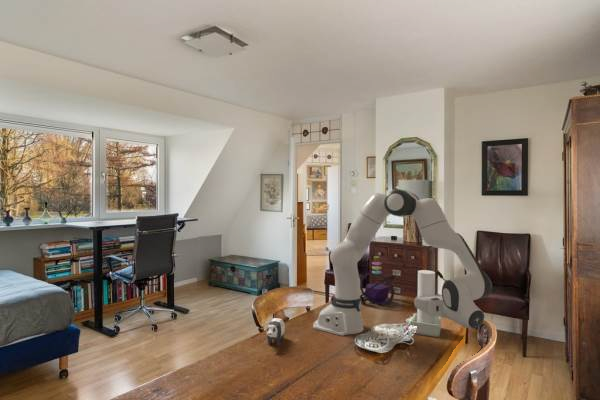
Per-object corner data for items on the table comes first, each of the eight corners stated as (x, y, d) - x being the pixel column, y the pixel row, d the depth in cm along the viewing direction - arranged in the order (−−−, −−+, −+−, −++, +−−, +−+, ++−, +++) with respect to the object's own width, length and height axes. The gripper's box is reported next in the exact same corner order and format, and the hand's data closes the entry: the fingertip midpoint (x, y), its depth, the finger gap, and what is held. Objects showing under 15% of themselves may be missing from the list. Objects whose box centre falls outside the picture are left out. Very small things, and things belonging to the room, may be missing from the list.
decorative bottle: (369, 294, 218) (369, 252, 218) (403, 300, 205) (403, 256, 204) (349, 302, 201) (349, 257, 200) (384, 311, 188) (385, 262, 187)
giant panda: (272, 335, 156) (272, 313, 156) (285, 336, 155) (285, 314, 155) (262, 350, 142) (262, 325, 141) (276, 351, 140) (276, 326, 140)
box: (410, 332, 159) (410, 321, 159) (414, 324, 169) (414, 313, 169) (438, 337, 154) (439, 325, 154) (440, 327, 164) (441, 316, 164)
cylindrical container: (414, 328, 162) (414, 271, 161) (422, 324, 167) (422, 269, 166) (429, 333, 156) (430, 274, 156) (437, 328, 161) (438, 272, 161)
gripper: (470, 296, 150) (448, 287, 163) (426, 300, 144) (407, 291, 158) (470, 311, 150) (448, 301, 163) (426, 316, 144) (407, 306, 158)
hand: (427, 296), depth 160 cm, fingers open, 8 cm apart
